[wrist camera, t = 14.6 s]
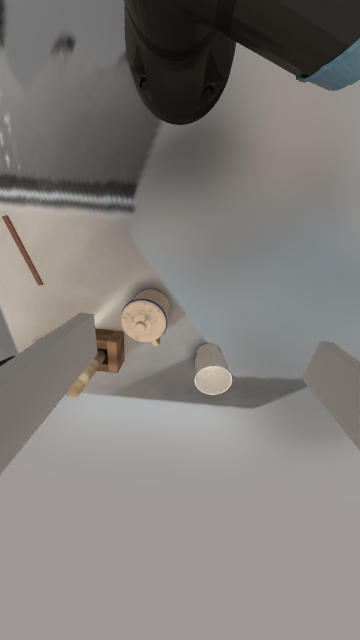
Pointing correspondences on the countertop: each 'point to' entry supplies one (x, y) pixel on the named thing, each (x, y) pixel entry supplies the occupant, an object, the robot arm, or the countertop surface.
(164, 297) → the teacup with lid
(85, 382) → the beige wooden dowel
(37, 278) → the brown wooden stick
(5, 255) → the countertop surface
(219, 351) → the white cup
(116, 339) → the bead dark
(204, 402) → the countertop surface
